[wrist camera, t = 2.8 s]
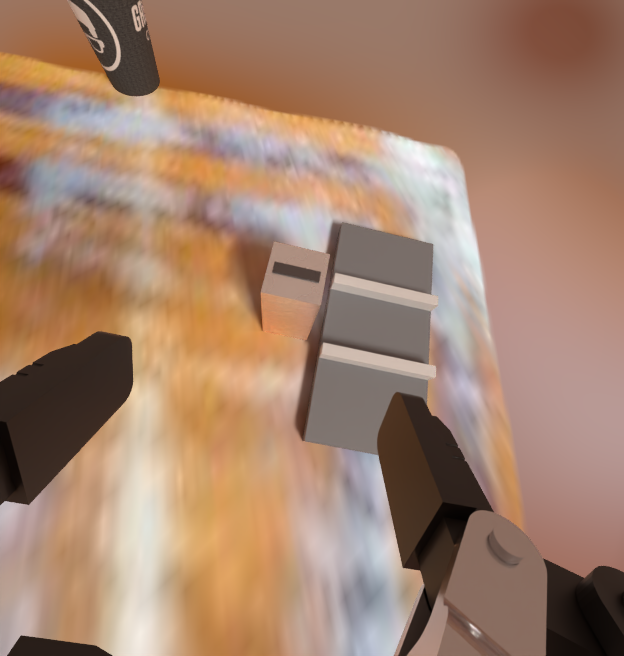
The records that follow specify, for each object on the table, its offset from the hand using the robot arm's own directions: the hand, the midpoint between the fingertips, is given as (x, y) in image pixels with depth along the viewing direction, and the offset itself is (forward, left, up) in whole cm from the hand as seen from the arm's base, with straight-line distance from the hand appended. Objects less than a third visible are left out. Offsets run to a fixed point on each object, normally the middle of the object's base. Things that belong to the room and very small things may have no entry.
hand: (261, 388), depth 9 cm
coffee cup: (-50, -11, -23) cm, 56 cm away
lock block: (-11, +4, -23) cm, 26 cm away
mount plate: (-7, +14, -23) cm, 28 cm away
